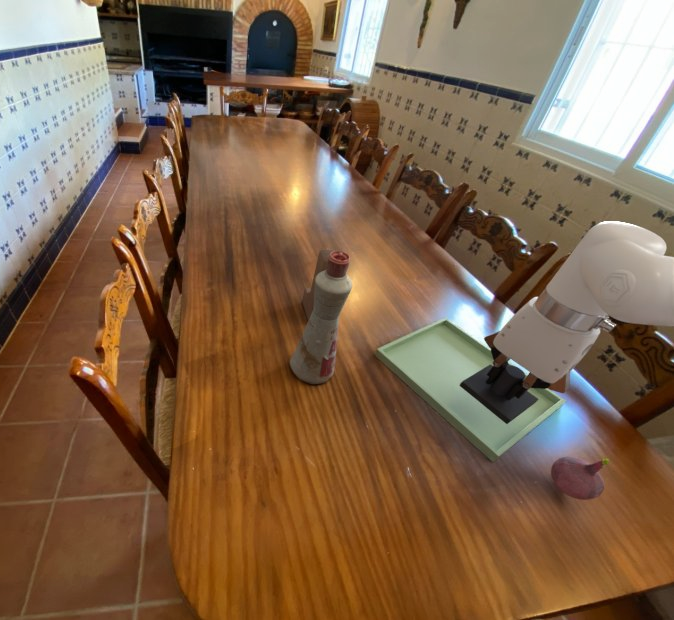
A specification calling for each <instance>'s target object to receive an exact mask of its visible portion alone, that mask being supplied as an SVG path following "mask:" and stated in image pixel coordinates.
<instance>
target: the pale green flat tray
mask: <svg viewBox="0 0 674 620" xmlns="http://www.w3.org/2000/svg"><path fill="white" fill-rule="evenodd" d="M374 356H375V357H376V358H377V359H378V360H379V361H380V362H381V363H382V364H383V365H385V366H386V367H387V368H388V369H389V370H390V371H391V372H393V373H394V375H396V376H397V377H398V378H399V379H400V380H401V381H402V382H403V383H404V384H406V385H407V386H408V387H409V388H410V389H411V390H412V391H413V392H414V393H416V394H417V396H419V397H420V398H422V400H423V401H425V403H426V404H428V405H429V406H430V407H431V408H432V409H433V410H434V411H435V412H437V414H439V415H440V417H442V418H443V419H444V420H445V421H446V422H448V423H449V425H450V426H452V427H453V428H455V430H456V431H457V432H458V433H460V434H461V435H462V436H463V437H464V438H465V439H466V440H468V442H470V443H471V444H472V445H473V446H474V447H475V448H476V449H478V451H480V452H481V453H482V454H483V455H484V456H485V457H486V458H487V459H489V460H490V461H491V462H492V463H494V462H495V461H497V459H499V458H501V456H502V455H504V454H505V453H506V452H508V451H509V450H510V449H512V447H514V446H515V445H516V444H517V443H518V442H520V441H521V440H522V439H523V438H524V437H526V436H527V435H528V434H529V433H531V432H532V431H533V430H534V429H536V428H537V427H538V426H539V425H540V424H542V423H543V422H544V421H546V419H548V418H550V417H551V415H553V414H554V413H556V412H557V411H558V410H559V409H560V408H561V407H562V406H563V405H564V404H566V402H567V400H566V399H564V398H563V397H561V395H559V394H557V393H556V392H555V391H552V390H550V389H547V388H546V389H539V388H530V389H528V392H530V393H531V394H532V395H534V396H535V397H536V398H538V401H537V402H536V403H534V404H533V405H532V406H530V407H529V408H528V409H527V410H525V411H524V412H523V413H521V414H520V415H519V416H517V417H516V418H515V419H513V420H512V421H511V422H509V423H508V424H506V423H505V422H503V421H502V420H501V419H500V418H498V417H497V416H496V415H495V414H493V413H492V412H491V411H490V410H489V409H487V408H486V407H485V406H484V405H482V404H481V403H480V402H479V401H478V400H476V399H475V398H474V397H473V396H471V395H470V394H469V393H468V392H466V391H465V390H464V389H463V388H462V387H460V386H459V385H460V384H461V382H462V381H464V380H465V379H467V378H469V377H470V376H472V375H474V374H475V373H477V372H478V371H480V370H482V369H483V368H485V367H487V366H488V365H490V364H491V365H492V366H494V365H493V361H494V360H493V356H492V353H491V349H490V348H489V346H488V345H486V344H485V343H484V342H482V341H481V340H479V339H478V338H476V337H475V336H473V335H471V333H469V332H467V331H466V330H465V329H463V328H461V326H459V325H457V324H456V323H455V322H453V321H452V320H450V319H449V318H447V317H446V316H444V317H443V318H440V319H437V320H436V321H434V322H432V323H430V324H427V325H426V326H423V327H421V328H419V329H416V330H415V331H412V332H410V333H408V334H406V335H404V336H401V337H400V338H397V339H395V340H393V341H390V342H389V343H386V344H384V345H382V346H379V347H377V348H376V350H375V353H374ZM508 364H509V365H513V366H516V367H518V366H517V365H515V364H514V363H512V362H511V361H510V360H509V361H508ZM522 371H523V372H524V373H525V378H526V377H527V376H528V374H529V373H527V372H525V371H524V370H522ZM525 378H524V379H525Z"/></svg>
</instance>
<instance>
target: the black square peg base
mask: <svg viewBox="0 0 674 620" xmlns="http://www.w3.org/2000/svg"><path fill="white" fill-rule="evenodd" d="M516 366H517V365H515V366H513V365H507V366H506V367H505V368H504V369H503V371H502V372H501V373H500V374H499V376H498V377H497V378H496V379H495V381H494V382H493V383H492V384H490V385H489V384H486V383H485V382H486V381H487V379H488V378H489V376H487V373H488V372H489V371H490V370H491V368H492V367H493V366H492V365H491V364H490V365H488V366H487V367H485V368H483V369H482V370H480V371H478V372H477V373H475V374H474V375H472V376H470V377H469V378H467V379H465V380H464V381H462V382H461V384H460V385H459V386H460V387H462V388H463V389H464V390H465V391H466V392H468V393H469V394H470V395H471V396H473V397H474V398H475V399H476V400H478V401H479V402H480V403H481V404H482V405H484V406H485V407H486V408H487V409H489V410H490V411H491V412H492V413H493V414H495V415H496V416H497V417H498V418H500V419H501V420H502V421H503V422H505V423H506V424H508V423H509V422H511V421H512V420H513V419H515V418H516V417H517V416H519V415H520V414H521V413H523V412H524V411H525V410H527V409H528V408H529V407H530V406H532V405H533V404H534V403H536V402H537V401H538V398H536V397H535V396H534V395H532V394H531V393H530V392H528V391H527V392H526V393H525V394H524V395H523V396H522V397H520V398H519V399H518V398H517V397H514V398H512V399H511V400H509V401H508V400H507V399H506V396H507V395H508V393H509V392H510V391H511V390H512V389H513V388H514V387H515V385H516V384H518V383H519V382H520V381H522V380H523V379H524V378H525V373H526V372H525V371H524V370H523V369H521V368H520V367H518V366H517V367H516ZM523 371H524V372H525V373H524V372H523Z"/></svg>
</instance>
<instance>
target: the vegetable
mask: <svg viewBox="0 0 674 620" xmlns="http://www.w3.org/2000/svg"><path fill="white" fill-rule="evenodd" d="M609 463H610V459H608V457H607V458H605V457H604V458H602V459H601V460H599V461H595V462H594V463H590V462H588V461H586V460H585V459H582V458H579V457H574V456H562V457H559V458H557V459H556V460H555V461H553V463H552V465H551V467H550V476H551V479H552V481H553V484H554V485H555V486H556V487H557V488H558V490H560V492H562V493H563V494H565V495H567V496H568V497H571V498H573V499H577V500H580V501H590V500H594V499H597V498H599V497H600V496H601V495H602V494H603V492H604V490H605V483H604V479H603V476H602V475H601V474H600V471H601V470H602V469H604V468H605V466H607V465H608V464H609Z"/></svg>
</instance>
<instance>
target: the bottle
mask: <svg viewBox="0 0 674 620" xmlns="http://www.w3.org/2000/svg"><path fill="white" fill-rule="evenodd" d="M351 261H352V260H351V256H350V255H349V253H347V252H345V251H342V250H338V251H333V252H331V253H330V254H329V255H328V264H327V269H326V270H325V271H322V272H320V273H319V274H318V275H317V276H316V278H315V290H314V309H313V311H312V314H311V316H310V318H309V321H308V320H307V323H306V324H305V325H306V326H305V328H304V330H303V332H302V334H301V337H300V339H299V340H298V341H299V342H298V343H297V346H296V348H295V350H294V352H293V354H292V356H291V358H290V360H289V366H290V369H291V370H292V372H293V374H294V375H295V376H296V377H297V379H298V380H299V381H303V382H305V383H306V384H310V385H320V384H324V383H326V382H327V381H329V380H330V379H331V378H332V376H333V375H334V373H335V367H336V355H337V346H338V336H339V326H340V325H339V324H340V323H339V322H340V315H341V313H342V311H343V308H344V306H345V304H346V301H347V300H348V298H349V295H350V294H351V291H352V288H353V281H352V279H351V278H350V276H349V275H348V274H347V272H348V269H349V267H350V263H351Z"/></svg>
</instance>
